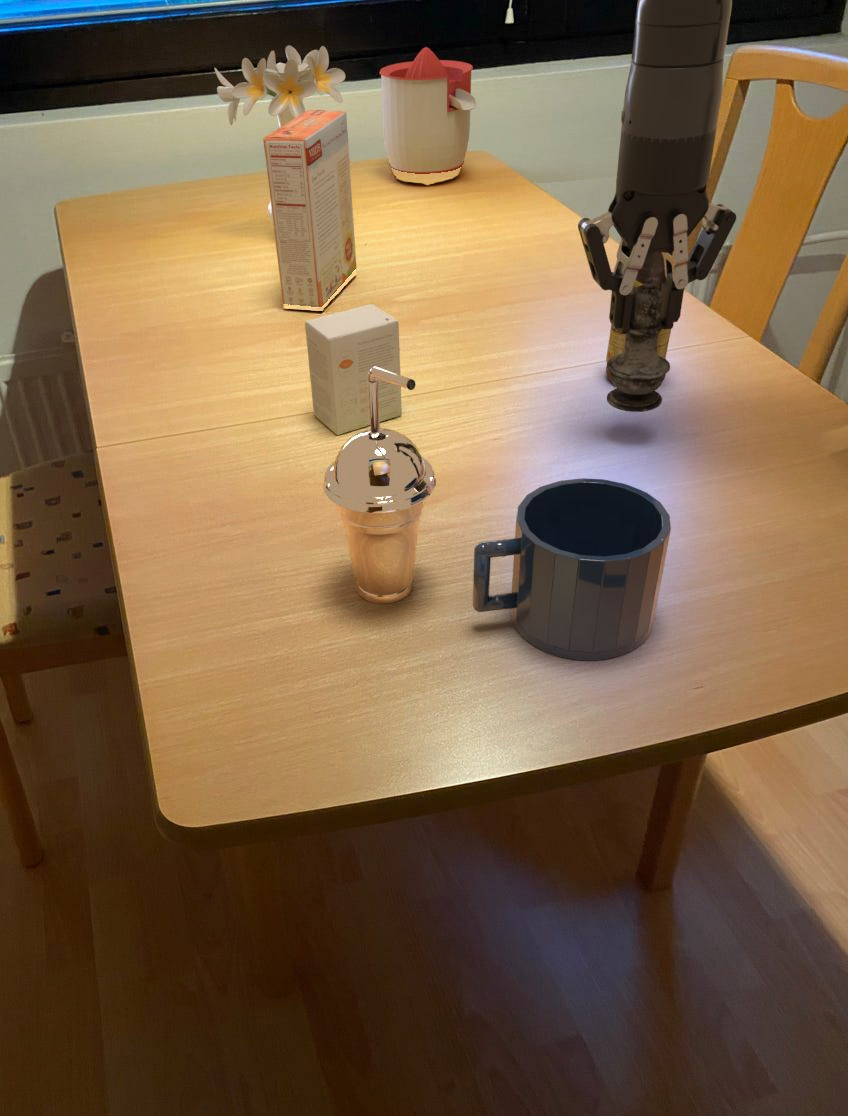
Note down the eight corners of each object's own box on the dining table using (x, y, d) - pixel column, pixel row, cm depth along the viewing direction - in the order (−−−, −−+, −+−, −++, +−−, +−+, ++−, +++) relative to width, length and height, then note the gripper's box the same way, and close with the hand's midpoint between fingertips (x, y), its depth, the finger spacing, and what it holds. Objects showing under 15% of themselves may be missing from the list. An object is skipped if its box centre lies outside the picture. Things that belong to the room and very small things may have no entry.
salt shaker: (610, 415, 92) (624, 289, 84) (597, 388, 96) (609, 266, 88) (672, 410, 92) (691, 284, 84) (656, 384, 96) (673, 262, 88)
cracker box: (318, 273, 136) (305, 108, 123) (358, 276, 134) (350, 109, 121) (279, 310, 126) (260, 134, 113) (321, 314, 124) (308, 136, 111)
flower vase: (233, 229, 154) (209, 47, 138) (347, 217, 156) (336, 36, 140) (239, 255, 144) (214, 63, 128) (361, 242, 146) (351, 51, 130)
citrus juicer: (440, 196, 162) (440, 59, 149) (364, 180, 171) (359, 51, 159) (496, 175, 170) (501, 43, 158) (421, 161, 180) (420, 36, 167)
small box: (377, 397, 105) (373, 301, 99) (403, 416, 102) (400, 319, 95) (312, 415, 103) (303, 319, 96) (335, 436, 99) (327, 338, 92)
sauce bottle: (593, 373, 107) (614, 182, 95) (641, 362, 109) (668, 173, 96) (625, 396, 103) (652, 199, 90) (675, 385, 104) (709, 189, 91)
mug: (624, 567, 79) (639, 471, 73) (673, 651, 71) (694, 550, 65) (458, 586, 78) (459, 491, 72) (488, 674, 70) (492, 574, 64)
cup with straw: (431, 553, 82) (429, 325, 69) (442, 619, 75) (442, 379, 62) (331, 560, 82) (311, 332, 69) (333, 626, 75) (311, 387, 62)
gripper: (598, 142, 75) (580, 353, 86) (773, 124, 76) (733, 335, 87) (570, 121, 81) (557, 321, 92) (733, 105, 82) (701, 305, 93)
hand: (643, 327), depth 89 cm, fingers closed on salt shaker, 3 cm apart
